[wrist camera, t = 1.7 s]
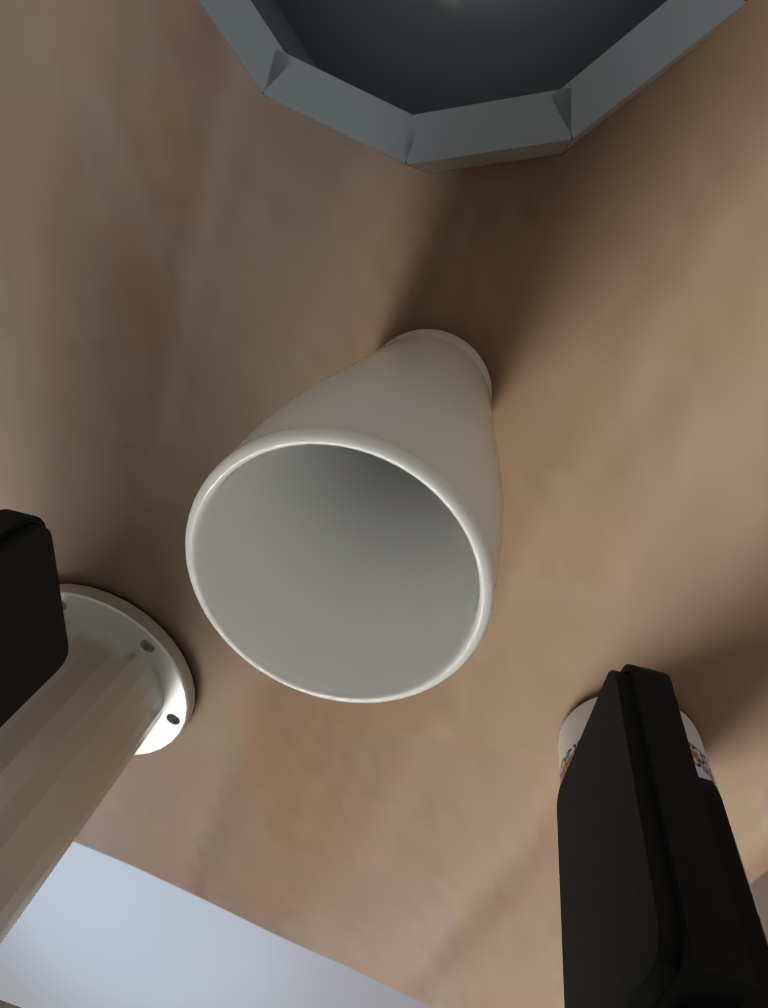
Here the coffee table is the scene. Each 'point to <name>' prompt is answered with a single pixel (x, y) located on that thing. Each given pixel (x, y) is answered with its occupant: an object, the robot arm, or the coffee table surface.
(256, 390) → the coffee table surface
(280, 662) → the drinking glass
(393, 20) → the bowl
